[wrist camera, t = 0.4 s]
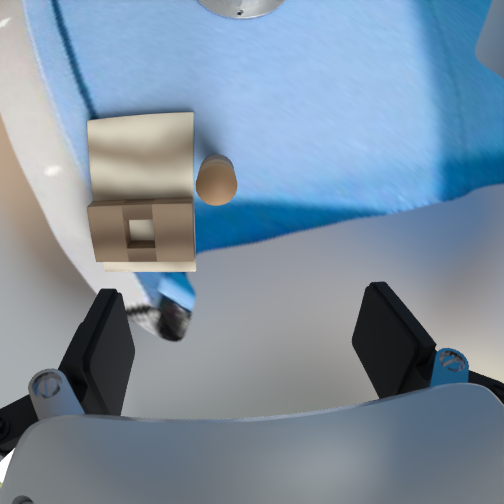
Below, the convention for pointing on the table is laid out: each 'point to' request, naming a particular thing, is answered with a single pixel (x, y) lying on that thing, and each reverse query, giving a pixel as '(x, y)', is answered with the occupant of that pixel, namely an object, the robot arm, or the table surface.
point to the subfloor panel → (143, 192)
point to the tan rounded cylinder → (216, 180)
